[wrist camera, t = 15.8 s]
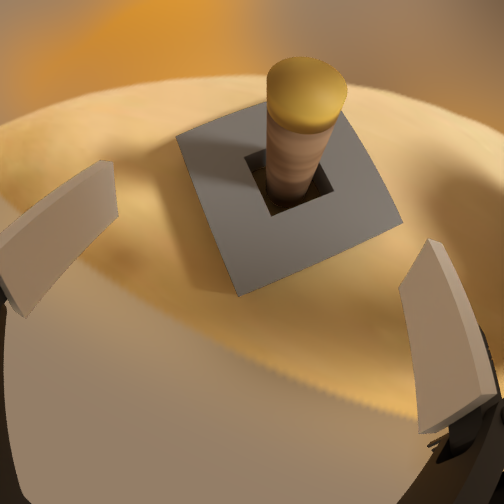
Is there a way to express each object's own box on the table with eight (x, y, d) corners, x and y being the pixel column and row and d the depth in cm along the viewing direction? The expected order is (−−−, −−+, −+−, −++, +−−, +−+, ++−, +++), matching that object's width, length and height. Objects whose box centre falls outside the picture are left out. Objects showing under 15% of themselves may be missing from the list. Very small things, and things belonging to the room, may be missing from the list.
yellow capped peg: (312, 199, 27) (362, 102, 11) (275, 214, 27) (289, 122, 11) (295, 165, 28) (321, 51, 12) (259, 179, 28) (253, 67, 12)
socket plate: (386, 231, 26) (403, 222, 22) (242, 295, 26) (238, 296, 22) (317, 106, 28) (323, 85, 24) (185, 154, 28) (175, 136, 24)
